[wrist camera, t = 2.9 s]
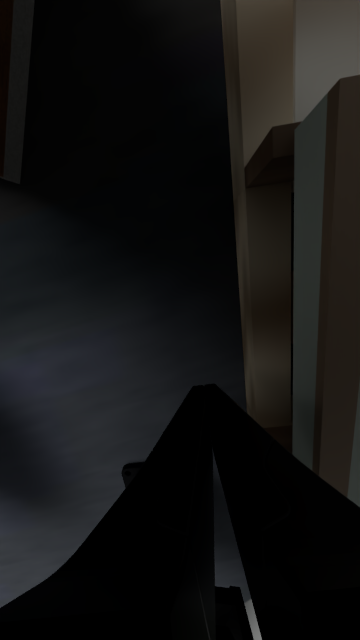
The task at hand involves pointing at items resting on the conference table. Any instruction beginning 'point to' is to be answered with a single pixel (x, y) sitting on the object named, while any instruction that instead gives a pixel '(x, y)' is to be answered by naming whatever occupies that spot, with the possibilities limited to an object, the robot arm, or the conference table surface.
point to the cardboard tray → (275, 167)
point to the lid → (328, 289)
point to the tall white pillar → (14, 82)
